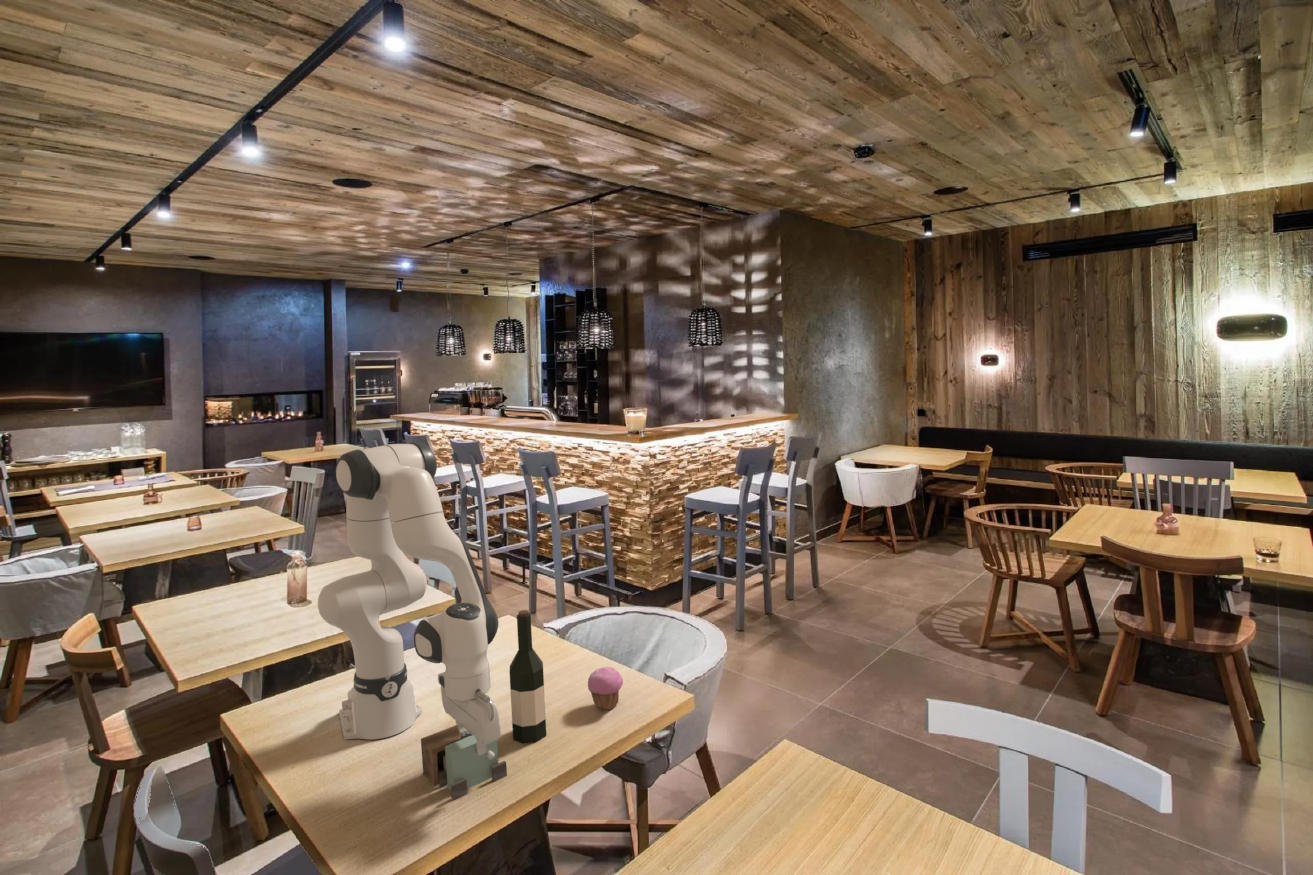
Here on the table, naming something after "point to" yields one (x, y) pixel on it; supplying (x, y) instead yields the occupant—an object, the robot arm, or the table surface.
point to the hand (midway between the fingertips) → (472, 746)
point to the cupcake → (605, 687)
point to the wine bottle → (527, 687)
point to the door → (469, 762)
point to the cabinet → (437, 761)
